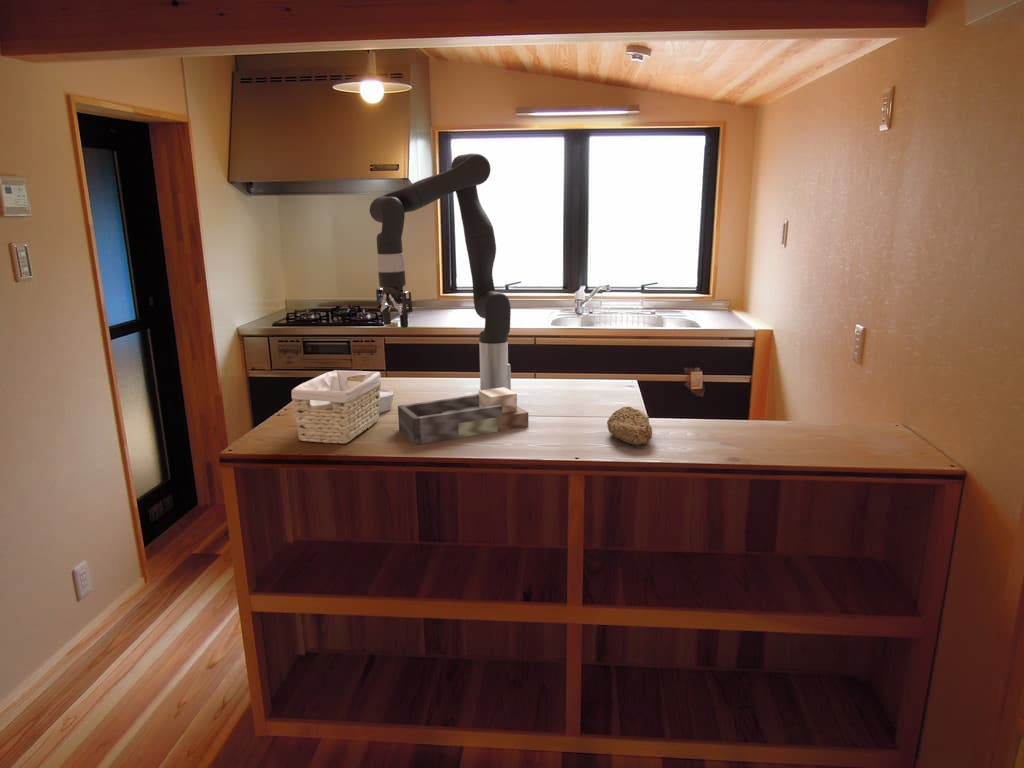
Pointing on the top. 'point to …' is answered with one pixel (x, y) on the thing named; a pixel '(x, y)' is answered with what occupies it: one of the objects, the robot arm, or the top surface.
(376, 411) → the storage basket
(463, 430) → the lane
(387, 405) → the ramekin
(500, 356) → the robot arm
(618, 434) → the sponge
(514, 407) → the block
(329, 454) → the top surface
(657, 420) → the top surface
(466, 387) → the top surface
